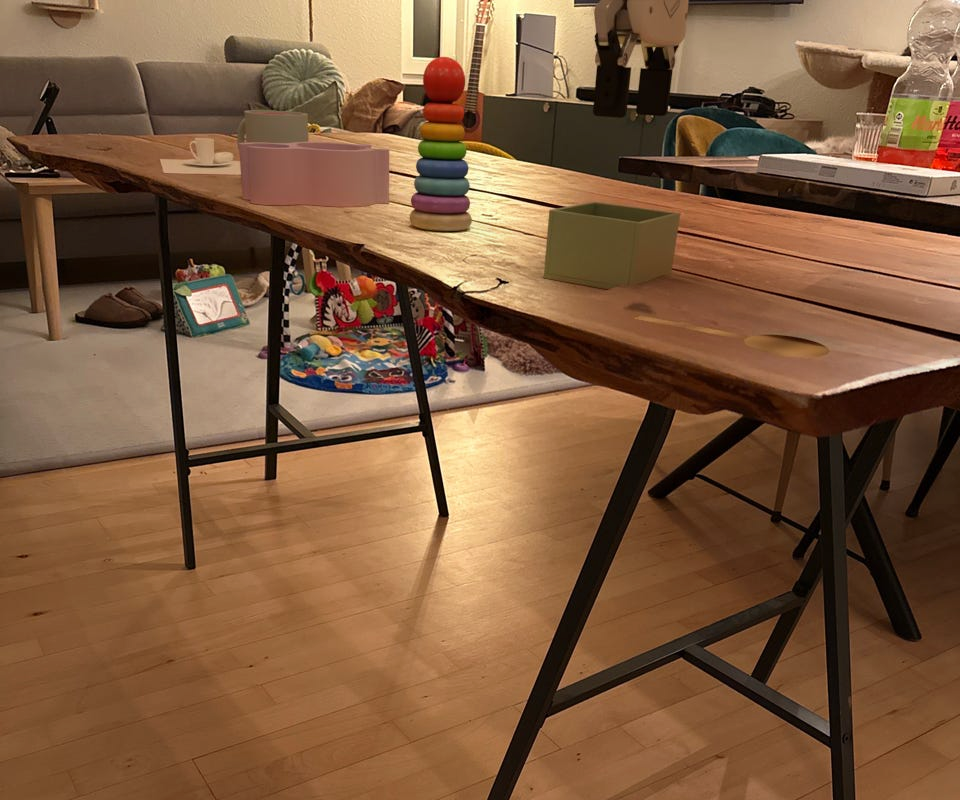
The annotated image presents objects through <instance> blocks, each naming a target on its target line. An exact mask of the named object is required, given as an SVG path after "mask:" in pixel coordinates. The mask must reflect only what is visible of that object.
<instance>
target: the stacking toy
mask: <svg viewBox="0 0 960 800" xmlns="http://www.w3.org/2000/svg"><path fill="white" fill-rule="evenodd" d="M422 85H423V88H424V91H425V94H426V96H427V97H428V98H429V99H430V100H431V101H432V102H427V103H426V104H425V105H424V106H423V109H422V116H423V118H424V119H425V120H426V121H425V122H423V123H422V124H421V125H420V127H419V135H420V137H421V138H422V139H423V140H421V141H420V142H419V143H418V146H417V152H418V154H419V156H420V158H418V159H417V161H416V163H415V169H416V172H417V174H419V175H417V176H416V177H415V178H414V181H413V186H414V189H415V191H416V192H415V193H413V194H412V195H411V197H410V205H411V207H412V208H413V210H411V212H410V213H409V216H408V217H409V222H410V224H411V225H412V226H414V227H415V228H417V229H421V230H426V231H427V230H428V231H434V232H457V231H464V230H467V229H468V228H470V226H471V225H472V223H473V222H472V221H473V217H472V216H471V214H470V212H468V211H469V209H470V207H471V202H470V198H469V197H468V196H467V194H468V192H469V191H470V188H471V187H470V186H471V184H470V181H469V179H468V178H467V177H466V176H467V175H468V173H469V164H468V163H467V161H466V160H465V159H464V158H465V157H466V155H467V146H466V144H465V143H464V142H462V140H463V139H464V137H465V134H466V133H465V128H464V125H462V124H461V122H462V121H463V119H464V116H465V109H464V107H463V106H462V105H461V104H458V103H455V102H457V101H458V100H459V99H460V98H461V97H462V95H463V93H464V91H465V87H466V74H465V72H464V69H463V67H462V66H461V64H460V63H459V62H458V61H457V60H455V59H454V58H452V57H449V56H437V57H435V58H434V59H432V60H431V61H430V62H429V63H428V64H427V65H426V67H425V69H424V71H423V75H422Z"/></svg>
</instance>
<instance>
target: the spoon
mask: <svg viewBox="0 0 960 800" xmlns="http://www.w3.org/2000/svg"><path fill="white" fill-rule="evenodd" d="M633 319H634V320H638V321H644V322H650V323H654V324H659V325H664V326H670V327H674V328H680V329H684V330H685V329H686V330H691V331H696V332H701V333H705V334H711V335H716V336H722V337H727V338H732V339H738V340H743V343H744V344H745V345H746V346H748V347H749V348H751V349H752V350H753V349H754V350H756V351H759V352H763V353H767V354H771V355H775V356H782V357H791V358H820V357H824V356H827V355H828V354H829V353H830V352H831V351H830V348H829V347H827V346H826V345H824V344H822V343H820V342H818V341H815V340H811V339H807V338H804V337H803V338H802V337H798V336H794V335H793V336H792V335H785V334H784V335H783V334H755V335H745V334H740V333H735V332H730V331H724V330H718V329H714V328H708V327H703V326H697V325H692V324H686V323H682V322H676V321H671V320H666V319H660V318H656V317H650V316H646V315H638V316H636V317H634V318H633Z"/></svg>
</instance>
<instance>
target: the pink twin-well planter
mask: <svg viewBox="0 0 960 800" xmlns="http://www.w3.org/2000/svg"><path fill="white" fill-rule="evenodd" d="M238 152H239V161H240V168H241V175H240V181H241V183H240V184H241V195H242V200H245V201H247V200H248V201H250V204H253V205H262V206H292V205H293V206H294V205H297V206H298V205H309V206H319V207H336V208H337V207H338V208H339V207H340V208H342V207H343V208H346V207H347V208H350V207H351V208H352V207H355V208H356V207H367V206H372V205H375V204H383V205H388V204H390V149H387V148H375V147H372V144H370V143H369V144H368V143H362V144H361V143H360V144H359V143H358V144H357V143H346V142H330V141H329V142H328V141H309V142H293V143H263V142H249V143H246V142H245V143H239V149H238Z"/></svg>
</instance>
